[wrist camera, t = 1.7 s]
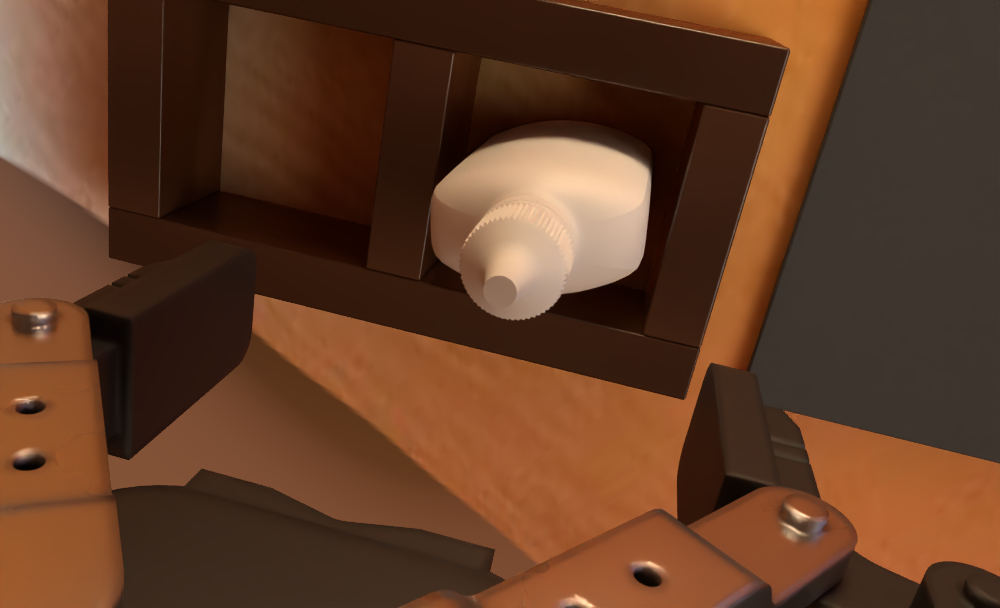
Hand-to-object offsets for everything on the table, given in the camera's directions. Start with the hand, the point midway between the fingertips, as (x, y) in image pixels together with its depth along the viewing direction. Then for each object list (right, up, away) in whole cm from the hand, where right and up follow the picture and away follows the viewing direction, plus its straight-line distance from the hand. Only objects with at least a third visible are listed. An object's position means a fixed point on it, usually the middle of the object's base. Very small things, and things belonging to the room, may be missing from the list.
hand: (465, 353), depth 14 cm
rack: (-1, +6, +14) cm, 16 cm away
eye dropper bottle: (+3, +5, +14) cm, 15 cm away
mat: (+16, +3, +12) cm, 20 cm away
